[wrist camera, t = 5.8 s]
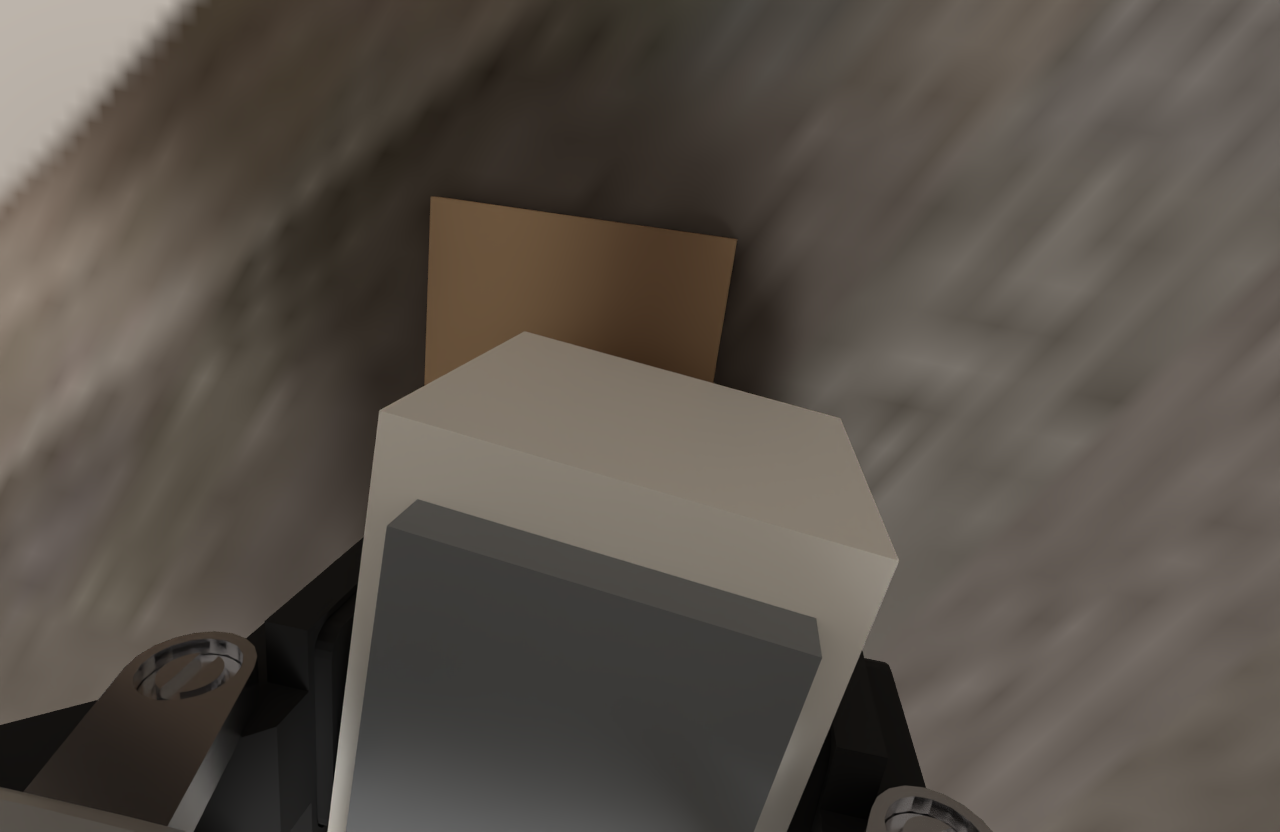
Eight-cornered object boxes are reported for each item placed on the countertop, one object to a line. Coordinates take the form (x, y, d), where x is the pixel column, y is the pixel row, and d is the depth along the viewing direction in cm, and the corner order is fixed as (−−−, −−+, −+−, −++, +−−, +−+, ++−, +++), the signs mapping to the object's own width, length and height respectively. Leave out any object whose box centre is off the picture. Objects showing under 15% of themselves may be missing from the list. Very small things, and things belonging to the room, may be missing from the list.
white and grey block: (840, 418, 10) (914, 597, 6) (700, 811, 13) (670, 1161, 8) (524, 331, 11) (344, 429, 6) (449, 729, 13) (281, 1019, 9)
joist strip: (737, 238, 11) (736, 240, 11) (617, 949, 16) (615, 962, 16) (438, 196, 11) (430, 196, 11) (412, 896, 16) (407, 908, 16)
